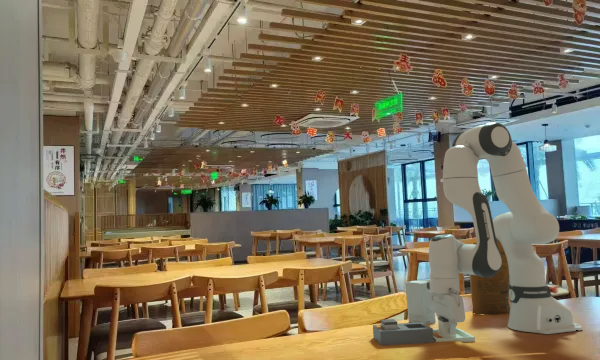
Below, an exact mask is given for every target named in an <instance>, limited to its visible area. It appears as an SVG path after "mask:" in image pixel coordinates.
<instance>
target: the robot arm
mask: <svg viewBox="0 0 600 360" xmlns="http://www.w3.org/2000/svg"><path fill="white" fill-rule="evenodd" d="M484 159H485V160H486V161H487V162H488V164H489V168H490V174H491V177H492V181H493V184H494V189H495V193H496V196H497V198H498V200H499V201H500V202H502V203H503V204H504V205H505V206H506V207H507V208H508V210H509V211H507V212H504V213H501V214H499V215H497V216H495V217H494V219H493V216H492V210H491V207H490V203H489V200H488V198H487V196H486V195H485V194H483V192H482V190H481V187H480V184H479V173H478V164H479V161H480V160H484ZM442 167H443V168H442V189H443V193H444V196H445V198H446V199H447V200H448V201H449V202H450V203H451V204H452V205H454V206H456V207H458V208H460V209H463V210H464V211H466V212H467V213H468V214H469V215H470V216H471V219H472V222H473V228H474V233H475V238H476V243H477V244H473V243H472V244H471V243H464V242H462V241H460V240H458V239H457V238H456V237H455V235H454V234H450V233H443V234H437V235H435V236H433V237H432V238H430V240H429V244H428V263H429V267H430V273H429V280H428V282H427V283H426V288H427V289H428V301H429V307H430V310H431V311H433V312H435V314H436V318H437V319H438V317H444V318H446V319H448V320H449V323H450V324H449V328H448V333H449V334H451V335H453V334H456V328H457V325H458V323H464V322H465V321H466V311H465V305H464V299H463V297H462V296H461V294H460V291H461V287H460V275H459V274H464V275H469V276H470V275H477V276H481V277H485V278H491V277H493V276H494V275H496V274H497V273H498V272H499V270H500V269H501V266H502V256H501V253H500V250H499V248H498V245H497V241H500V243H501V245H502V247H503V249H504V252H505V255H506V258H507V262H508V269H509V305H510V313H508V314H509V315H508V316H509V317H508V321H507V325H506V327H508V328H509V329H511V330H515V331H519V332H525V333H526V332H527V333H535V334H540V335H552V334H559V333H567V332H568V333H569V332H577V331H576V330H578V331H582V330H583V327H582V325H580V324H579V323H577V322H574V317H573V314H572V311H571V309H569V308H568V307H567V306H565V305H564V304H563V303H561V302H560V301H559V300H557V299H556V298H554V297H553V296H552V294H555V295H556V294H558V292H559V289H558V288H557V287H556V286H549V285H547V284H546V283H547V282H546V271H545V270H546V269H545V263H544V261H543V259H542V258H541V257H540V256H539V255H538V254H537V253H536V251H535V248H534V246H533V245H543V244H547V243H551V242H554V241H555V240H556V239H557V237H558V236H559V234H560V233H559V232H560V224H559V221H558V219H557V218H556V217H555V216H554V215H553V214H551V213H550V212H549V211H548V210H546V208H545V207H543V205H542V204H541V202H540V201H539V199H538V198H537V196H536V194H535V192H534V190H533V188H532V183H531V181H530V177H529V174H528V171H527V167H526V163H525V160H524V158H523V156H522V153H521V151H520V148H519V146H518V145H517V144H516V143H515V142H514V141H513V140H512V136H511V134H510V131H509V130H508V128H507V127H506V126H505V125H504V124H502V123H500V122H488V123H485V124H482V125H477V126H474V127H472V128H471V129H468V130H465V131H462V132H459V134H457V135H456V136H455V137H454V139H453V141H452V144H451V147H449V148H447V150H446V151H445V153H444V159H443V166H442ZM581 329H582V330H581Z"/></svg>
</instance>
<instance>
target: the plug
mask: <svg viewBox="0 0 600 360" xmlns="http://www.w3.org/2000/svg"><path fill="white" fill-rule="evenodd" d="M437 323H438V324H437V325H438V329H439V332H438V336H440V337H441V338H451V337H456V334H453V335H451V334H449V333H448V328H449V324H450V323H449V320H448V319H446V318H444V317H438V318H437Z"/></svg>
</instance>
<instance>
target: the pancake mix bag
mask: <svg viewBox="0 0 600 360" xmlns="http://www.w3.org/2000/svg"><path fill="white" fill-rule="evenodd" d="M496 241H497V245H498V248H499V250H500V253H501V256H502V266H501V269H500V270H499V272H498V273H497V274H496V275H494V276H493V277H491V278H485V277H481V276H477V275H469V281H470V285H469V286H470V292H471V293H470V294H471V295H470V296H471V304H472V311H471V313H475V314H492V315H499V313H507V314H510V313H509V312H510V299H509V284H510V281H509V269H508V262H507V258H506V255H505V252H504V249H503V247H502V245H501V243H500V241H499V240H496ZM472 244H477V242H473V243H472ZM475 314H474V315H475Z"/></svg>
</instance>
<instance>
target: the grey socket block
mask: <svg viewBox="0 0 600 360" xmlns="http://www.w3.org/2000/svg"><path fill="white" fill-rule="evenodd" d="M397 325H398V329H390V330H383V329H381V323H380V324H373V325H372V335H373V339H374V340H375V341H376V342H377V343H378V344H379V345H380V346H382V347H383V346H395V345H413V344H415V345H416V344H417V345H418V344H433V343H434V342H435V341H434V340H433V336H434V333H433V328H434V327H433V328H432V327H431V326H429V325H428V324H424V323H423V322H418V323H411V322H403V323H402V322H401V323H397Z"/></svg>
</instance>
